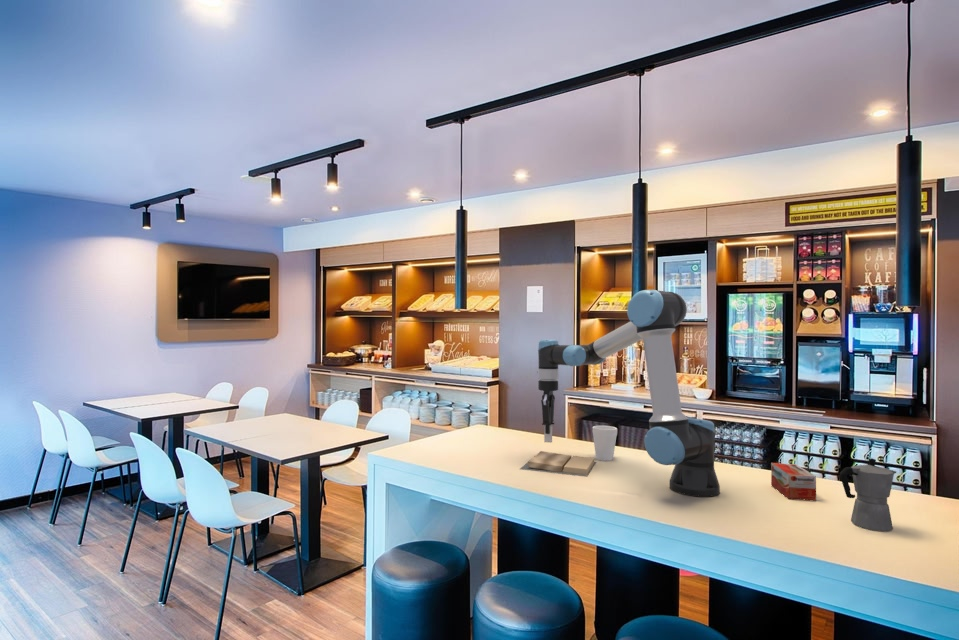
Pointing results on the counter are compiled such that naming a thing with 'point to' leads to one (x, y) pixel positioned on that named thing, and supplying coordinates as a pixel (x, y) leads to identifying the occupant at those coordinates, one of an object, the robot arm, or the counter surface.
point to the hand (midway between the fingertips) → (548, 441)
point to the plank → (549, 461)
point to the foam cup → (604, 442)
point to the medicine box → (793, 481)
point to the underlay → (571, 466)
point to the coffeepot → (870, 495)
